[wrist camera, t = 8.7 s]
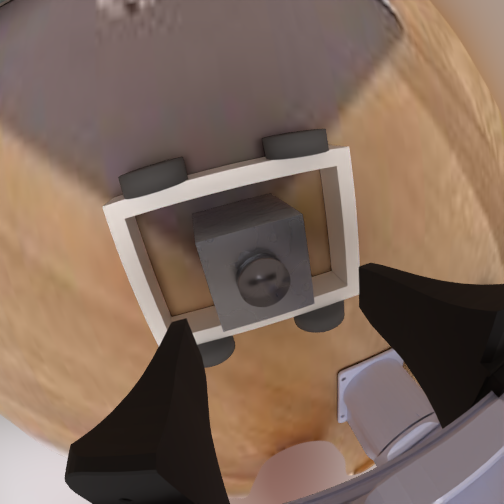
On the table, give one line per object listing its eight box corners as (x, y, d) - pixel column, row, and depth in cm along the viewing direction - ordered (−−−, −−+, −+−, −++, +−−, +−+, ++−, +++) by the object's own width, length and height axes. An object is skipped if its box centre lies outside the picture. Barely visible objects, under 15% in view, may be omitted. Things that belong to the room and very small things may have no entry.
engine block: (283, 263, 20) (320, 311, 15) (212, 283, 20) (225, 341, 14) (270, 193, 18) (309, 218, 13) (192, 213, 18) (195, 249, 12)
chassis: (344, 291, 22) (367, 315, 19) (168, 343, 21) (168, 376, 17) (326, 127, 17) (355, 126, 14) (107, 179, 16) (89, 188, 13)
